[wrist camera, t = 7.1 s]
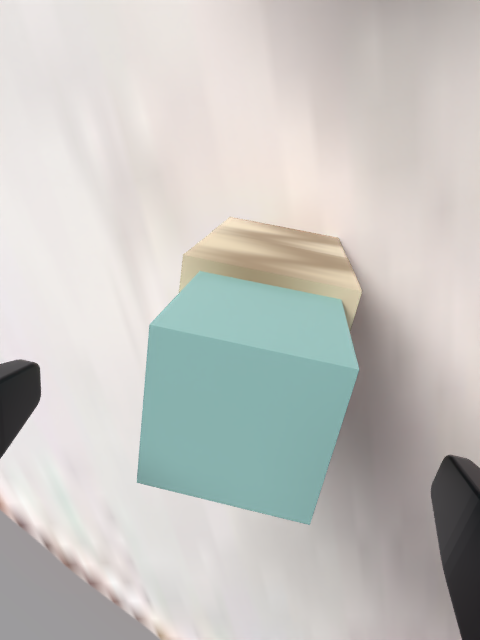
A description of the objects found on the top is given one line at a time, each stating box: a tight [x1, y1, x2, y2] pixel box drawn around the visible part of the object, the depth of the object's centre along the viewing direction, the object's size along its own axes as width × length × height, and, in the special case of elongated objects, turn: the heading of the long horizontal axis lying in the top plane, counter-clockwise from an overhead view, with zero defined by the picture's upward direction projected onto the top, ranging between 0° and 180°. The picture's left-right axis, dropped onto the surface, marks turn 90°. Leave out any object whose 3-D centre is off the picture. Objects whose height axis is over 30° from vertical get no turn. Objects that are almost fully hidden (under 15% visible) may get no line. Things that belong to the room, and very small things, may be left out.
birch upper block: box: [179, 231, 362, 331], centre depth 14 cm, size 5×5×4 cm
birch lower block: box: [212, 217, 347, 258], centre depth 18 cm, size 5×5×4 cm
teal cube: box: [137, 271, 359, 525], centre depth 10 cm, size 4×4×4 cm
